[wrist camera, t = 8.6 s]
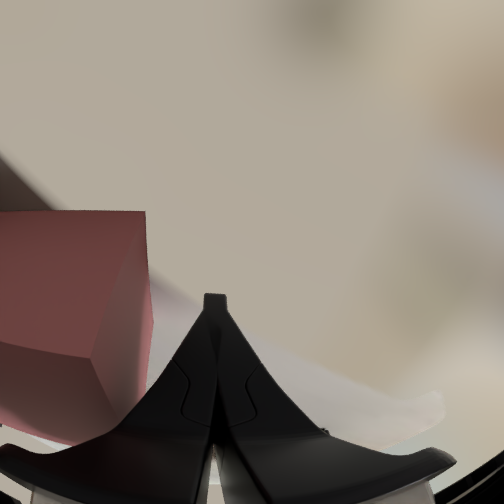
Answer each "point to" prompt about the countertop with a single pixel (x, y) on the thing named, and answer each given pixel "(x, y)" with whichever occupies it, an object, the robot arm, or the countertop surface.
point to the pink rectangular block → (72, 321)
